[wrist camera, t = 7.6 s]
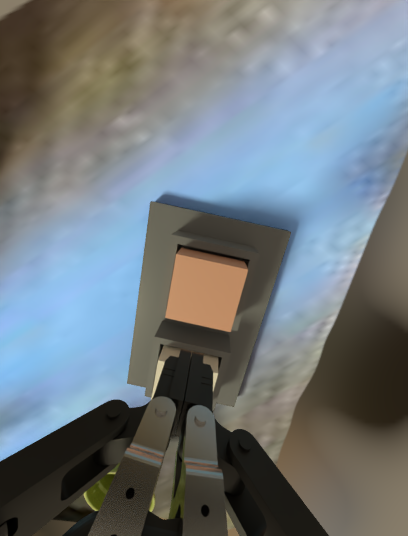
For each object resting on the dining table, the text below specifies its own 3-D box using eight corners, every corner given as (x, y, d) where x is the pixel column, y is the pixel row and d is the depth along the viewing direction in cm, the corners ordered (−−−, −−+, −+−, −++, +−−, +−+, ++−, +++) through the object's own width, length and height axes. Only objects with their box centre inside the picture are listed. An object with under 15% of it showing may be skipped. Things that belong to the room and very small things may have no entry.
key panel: (131, 375, 33) (116, 404, 28) (154, 201, 25) (139, 200, 20) (233, 398, 33) (235, 431, 28) (287, 230, 25) (303, 236, 20)
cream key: (157, 385, 28) (149, 406, 25) (164, 342, 26) (158, 360, 23) (206, 396, 28) (205, 418, 25) (218, 354, 26) (218, 373, 23)
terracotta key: (171, 304, 24) (165, 317, 21) (181, 247, 22) (176, 253, 19) (229, 316, 24) (230, 332, 21) (244, 261, 22) (248, 269, 19)
